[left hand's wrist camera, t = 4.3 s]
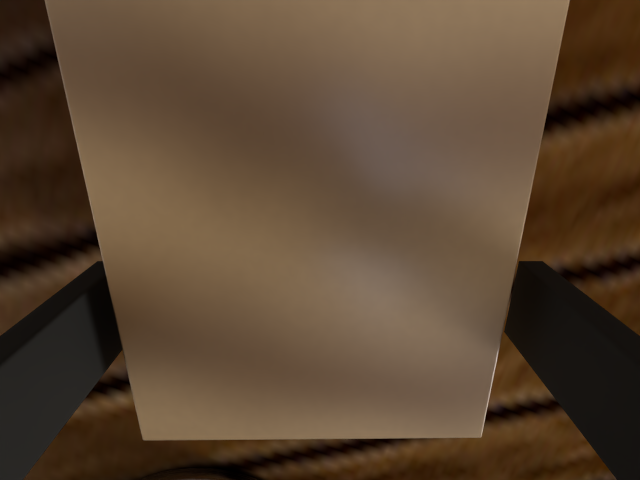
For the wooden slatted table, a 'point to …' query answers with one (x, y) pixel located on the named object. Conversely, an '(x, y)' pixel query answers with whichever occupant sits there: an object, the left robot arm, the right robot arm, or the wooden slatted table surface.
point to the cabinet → (309, 203)
